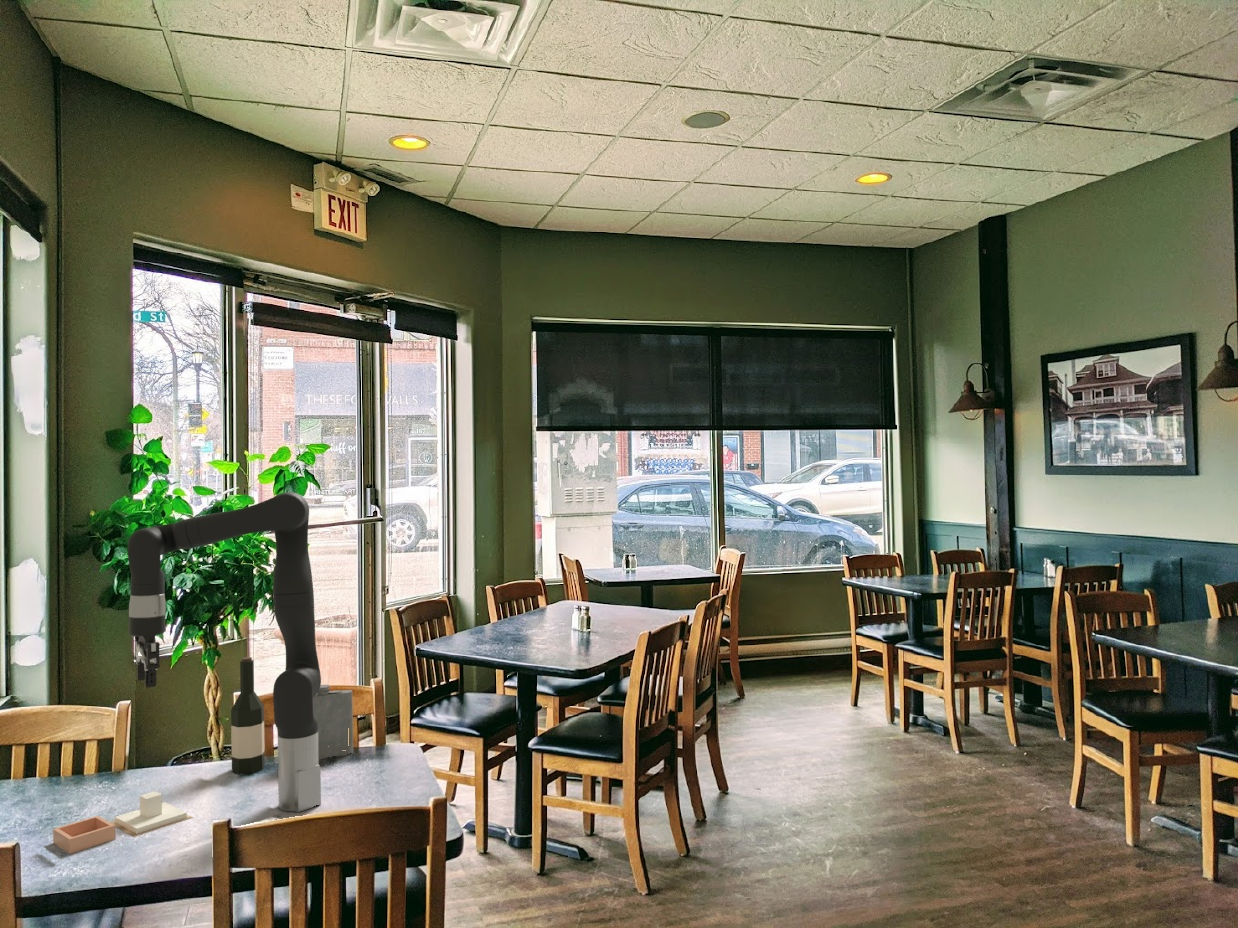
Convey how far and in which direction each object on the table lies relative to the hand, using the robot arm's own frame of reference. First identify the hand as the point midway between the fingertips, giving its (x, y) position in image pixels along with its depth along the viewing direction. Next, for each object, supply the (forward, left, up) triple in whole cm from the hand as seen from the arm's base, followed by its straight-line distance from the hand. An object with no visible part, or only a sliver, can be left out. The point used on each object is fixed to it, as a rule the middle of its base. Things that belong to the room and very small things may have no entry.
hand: (146, 683), depth 207 cm
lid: (-4, +1, -31) cm, 31 cm away
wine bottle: (+13, -32, -32) cm, 47 cm away
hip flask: (+5, -50, -32) cm, 59 cm away
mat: (-4, +1, -32) cm, 32 cm away
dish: (-4, +15, -32) cm, 35 cm away
